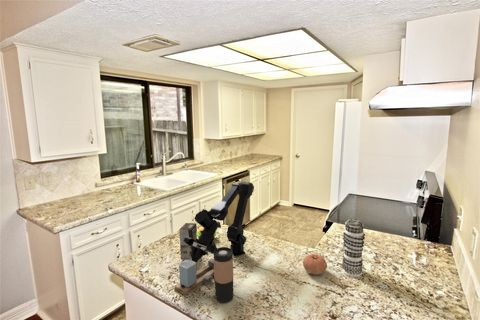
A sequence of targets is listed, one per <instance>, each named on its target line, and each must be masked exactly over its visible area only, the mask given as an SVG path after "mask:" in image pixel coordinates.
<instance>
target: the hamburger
mask: <svg viewBox="0 0 480 320" xmlns="http://www.w3.org/2000/svg"><path fill="white" fill-rule="evenodd" d="M203 229H204V228H203V227H202V226H201V225H200V227H198V229H197V239H199V237H200V235H201V233H200V231H201V230H202V231H203ZM216 233H217V231H216V232H215V234H214V236H213V237H214V240H215V238H216V236H217V234H216Z"/></svg>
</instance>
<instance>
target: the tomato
mask: <svg viewBox="0 0 480 320" xmlns="http://www.w3.org/2000/svg"><path fill="white" fill-rule="evenodd" d="M302 264H303V268H304V269H305V271H306V272H307V273H309V274H311V275H315V276H320V275H323V274H324V273H325V272H326V270H327V268H328V264H327V261H326V259H325V258H324V257H323V256H321V255H319V254H314V253H312V254H309V255H306V256H305V257H304V258H303V260H302Z"/></svg>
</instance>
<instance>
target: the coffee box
mask: <svg viewBox="0 0 480 320" xmlns="http://www.w3.org/2000/svg"><path fill="white" fill-rule="evenodd" d="M197 227H198V226H197V222H196V223H195V222H185V223H184V224H183V225H182V226H181V227H180V228H179V247H180V248H179V249H180V250H179V252H180V258H181V259H186V260H187V259H189V260H192V247H191V246H189V245H188V244H186V243H185V242H183V240H184V239H185V237H190V238H193V239H194V240H195V241H196V239H198V236H197V231H198V229H197Z"/></svg>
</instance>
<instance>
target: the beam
mask: <svg viewBox="0 0 480 320" xmlns="http://www.w3.org/2000/svg"><path fill="white" fill-rule="evenodd" d="M213 277H214V257H213V258H210V259H209V260H207V264H206V265H204V266H202V267H200V269H198V270H196V279H197V282H195V283H194V284H192V285H191V286H190V287H186V288H185V287H184V285H182V284H180V282H179V283H176V284H175V285H174V290H175V291H176V292H178V293H180V294H183V295H184V296H188V295H189V294H190V293H191V292H193V291H194V290H196V289H197V288H198V287H200V286H201V285H203V284H206V285H209V284H211V283H212V282H213Z"/></svg>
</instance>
